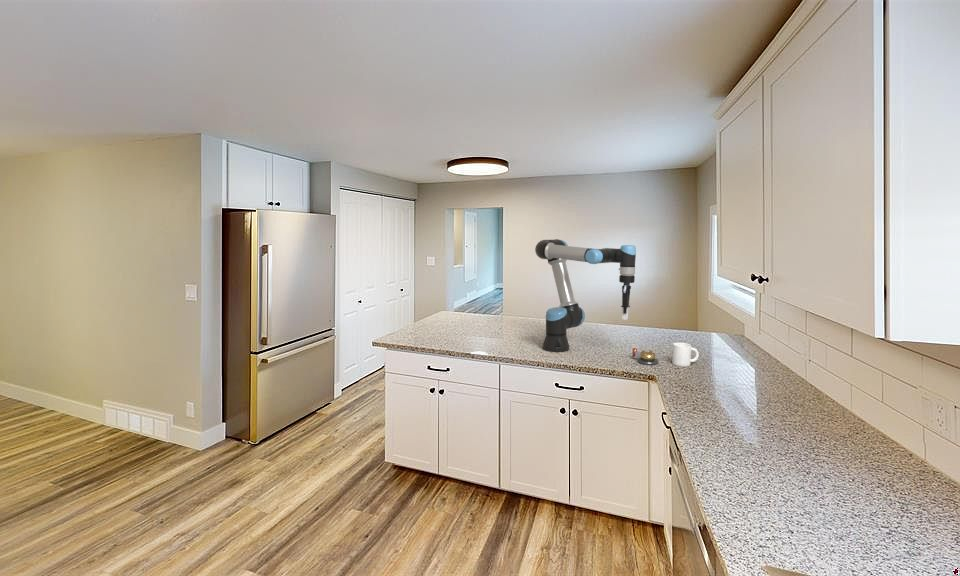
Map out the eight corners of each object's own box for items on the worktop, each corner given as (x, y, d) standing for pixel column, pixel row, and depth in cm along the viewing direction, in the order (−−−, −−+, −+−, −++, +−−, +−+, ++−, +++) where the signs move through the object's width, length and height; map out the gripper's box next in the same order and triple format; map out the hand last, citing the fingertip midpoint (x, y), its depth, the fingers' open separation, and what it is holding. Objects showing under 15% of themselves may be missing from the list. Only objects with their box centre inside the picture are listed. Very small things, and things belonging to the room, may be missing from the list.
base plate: (633, 362, 214) (633, 359, 214) (642, 358, 220) (643, 355, 220) (652, 366, 206) (652, 363, 206) (661, 362, 213) (661, 359, 213)
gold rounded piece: (657, 359, 213) (658, 352, 212) (650, 362, 208) (650, 354, 208) (636, 354, 222) (636, 347, 222) (628, 356, 218) (629, 349, 218)
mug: (696, 363, 211) (697, 343, 210) (700, 368, 203) (701, 347, 202) (670, 361, 214) (671, 342, 212) (674, 366, 206) (675, 346, 204)
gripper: (621, 273, 225) (619, 316, 228) (617, 275, 213) (615, 320, 217) (636, 274, 222) (634, 317, 225) (633, 276, 210) (630, 322, 213)
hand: (624, 319), depth 221 cm, fingers closed
